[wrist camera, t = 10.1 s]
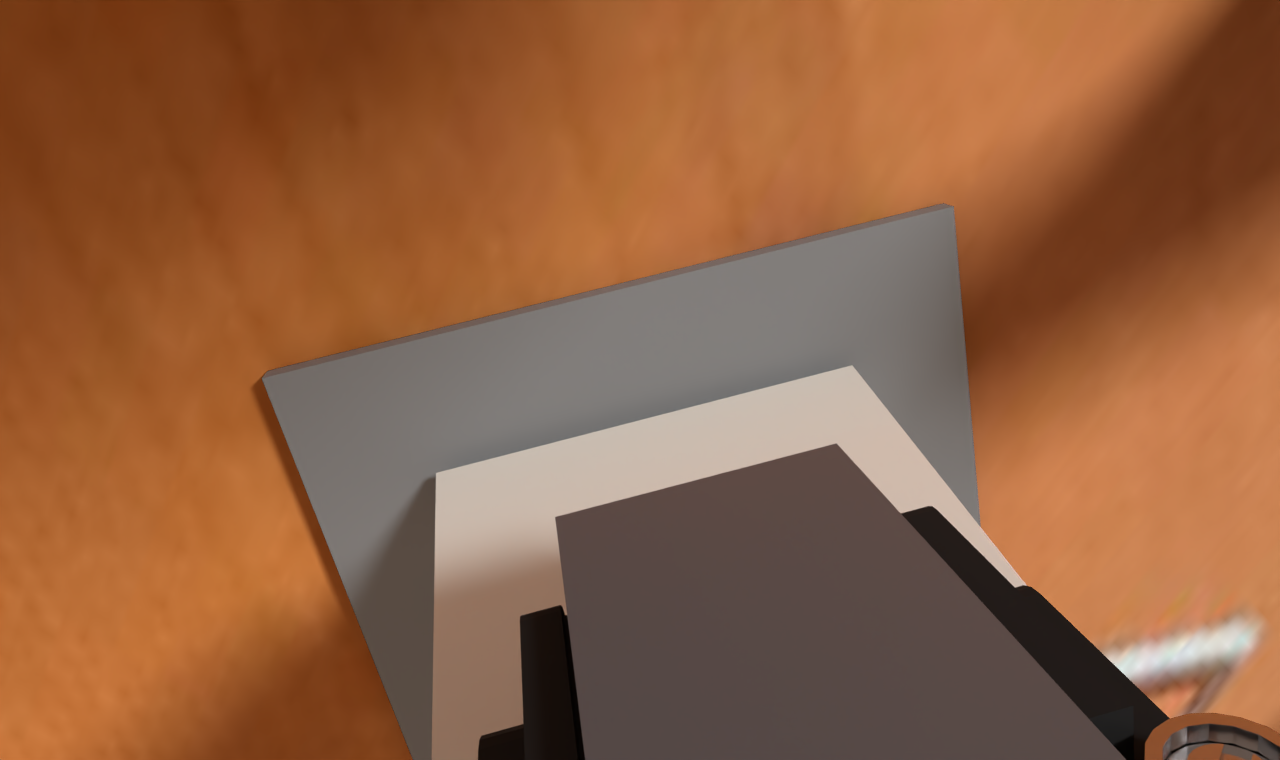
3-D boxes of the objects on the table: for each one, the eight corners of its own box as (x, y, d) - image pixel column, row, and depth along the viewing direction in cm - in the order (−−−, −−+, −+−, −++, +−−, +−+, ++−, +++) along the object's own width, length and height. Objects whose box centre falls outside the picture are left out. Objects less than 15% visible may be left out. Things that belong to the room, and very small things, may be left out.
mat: (267, 371, 20) (261, 378, 19) (943, 203, 21) (953, 206, 20) (503, 972, 27) (503, 988, 26) (998, 824, 28) (1006, 838, 27)
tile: (436, 472, 20) (426, 1099, 10) (852, 365, 21) (1236, 851, 11) (464, 546, 21) (481, 1170, 11) (856, 442, 22) (1205, 943, 12)
